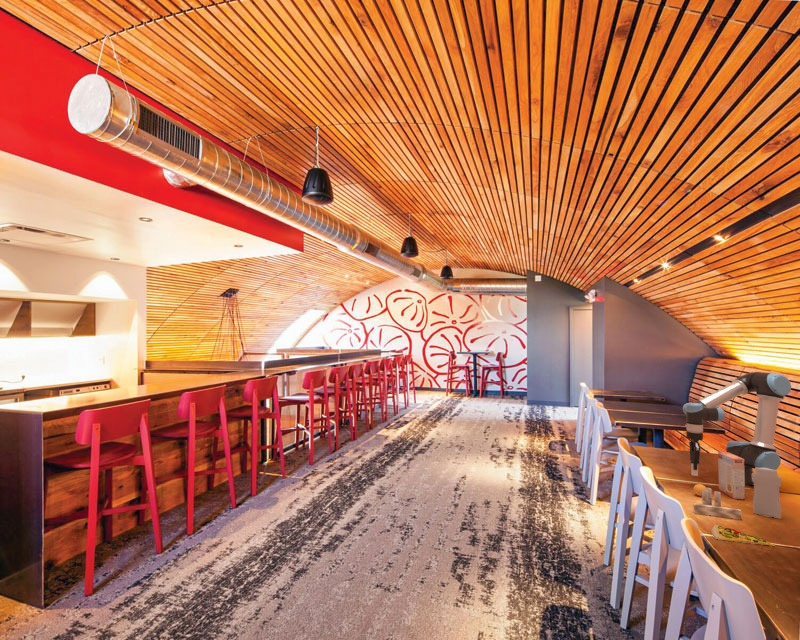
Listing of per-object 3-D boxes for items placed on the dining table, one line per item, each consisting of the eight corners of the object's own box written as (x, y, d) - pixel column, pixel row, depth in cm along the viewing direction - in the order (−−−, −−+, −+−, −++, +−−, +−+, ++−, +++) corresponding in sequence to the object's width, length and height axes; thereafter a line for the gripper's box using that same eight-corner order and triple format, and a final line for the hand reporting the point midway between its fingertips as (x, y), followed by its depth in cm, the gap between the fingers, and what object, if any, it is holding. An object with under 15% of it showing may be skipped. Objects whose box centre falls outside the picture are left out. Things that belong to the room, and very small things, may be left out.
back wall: (740, 518, 196) (739, 509, 197) (741, 519, 195) (741, 511, 195) (693, 511, 203) (693, 503, 203) (694, 513, 201) (694, 504, 202)
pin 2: (720, 509, 207) (719, 491, 207) (721, 511, 204) (721, 493, 205) (714, 508, 207) (713, 490, 208) (715, 510, 205) (715, 492, 206)
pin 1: (707, 507, 208) (707, 490, 209) (709, 509, 206) (708, 491, 207) (701, 507, 209) (701, 489, 210) (703, 508, 207) (702, 491, 207)
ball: (705, 494, 226) (705, 483, 227) (709, 498, 221) (708, 486, 221) (692, 493, 229) (692, 481, 229) (695, 497, 223) (695, 485, 223)
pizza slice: (711, 527, 188) (711, 520, 188) (774, 541, 175) (774, 534, 175) (710, 540, 175) (710, 533, 176) (777, 556, 163) (777, 548, 163)
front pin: (711, 505, 212) (710, 488, 212) (712, 507, 209) (712, 489, 210) (705, 504, 213) (704, 487, 213) (706, 506, 210) (706, 488, 211)
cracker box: (746, 500, 220) (745, 458, 221) (732, 499, 221) (731, 458, 222) (730, 490, 233) (729, 452, 234) (718, 490, 235) (717, 451, 236)
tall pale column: (781, 517, 198) (780, 468, 200) (782, 520, 195) (781, 471, 196) (752, 511, 205) (750, 464, 206) (752, 514, 201) (751, 466, 202)
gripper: (683, 428, 243) (683, 471, 241) (689, 433, 231) (689, 477, 229) (699, 430, 240) (699, 473, 239) (706, 434, 228) (706, 479, 227)
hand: (694, 475), depth 234 cm, fingers closed
